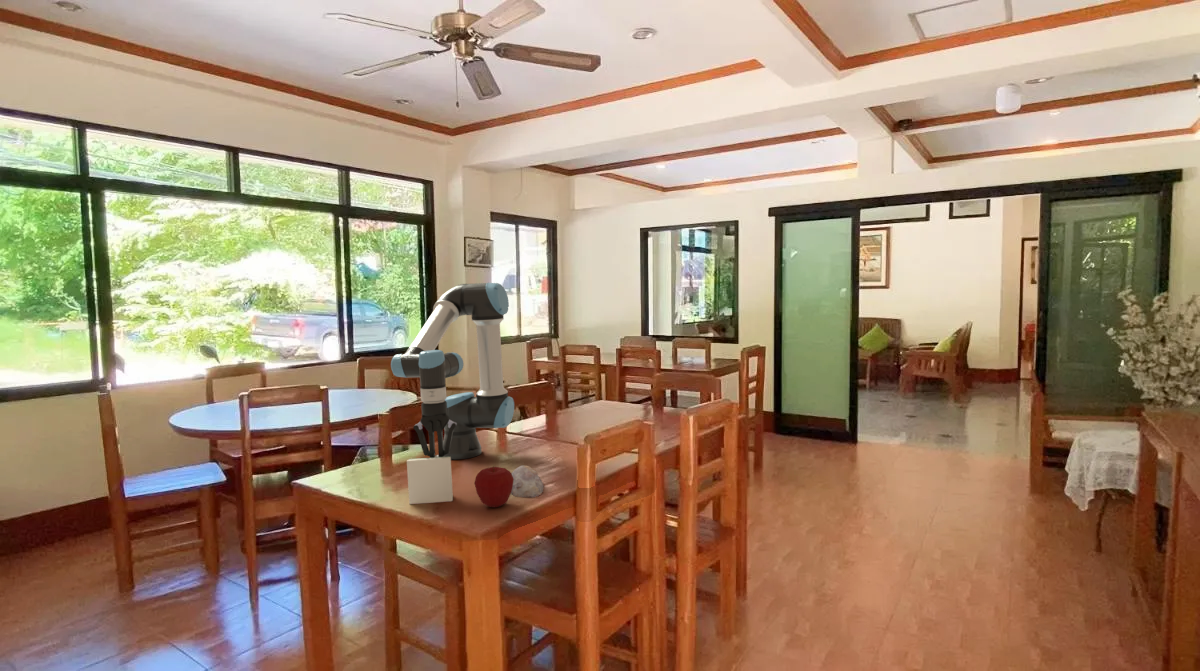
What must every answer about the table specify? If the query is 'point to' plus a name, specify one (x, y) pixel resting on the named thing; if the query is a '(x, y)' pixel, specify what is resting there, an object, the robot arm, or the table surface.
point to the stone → (526, 482)
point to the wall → (429, 480)
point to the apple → (494, 486)
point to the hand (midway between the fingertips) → (438, 476)
